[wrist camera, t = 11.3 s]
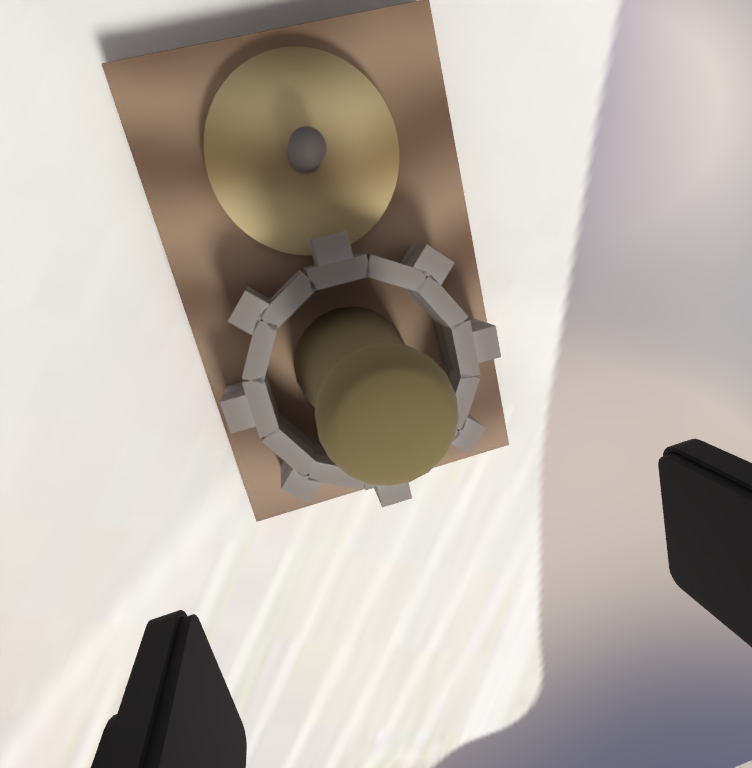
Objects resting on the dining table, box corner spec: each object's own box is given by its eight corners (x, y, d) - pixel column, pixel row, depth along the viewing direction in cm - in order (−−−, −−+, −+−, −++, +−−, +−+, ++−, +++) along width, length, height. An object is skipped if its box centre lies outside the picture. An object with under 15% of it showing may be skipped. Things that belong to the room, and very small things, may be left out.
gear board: (111, 74, 25) (77, 37, 20) (420, 12, 26) (448, -35, 22) (257, 509, 31) (254, 550, 27) (498, 436, 33) (532, 464, 28)
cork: (279, 400, 28) (282, 489, 18) (314, 290, 27) (339, 314, 17) (385, 430, 30) (447, 529, 19) (422, 326, 29) (508, 370, 18)
